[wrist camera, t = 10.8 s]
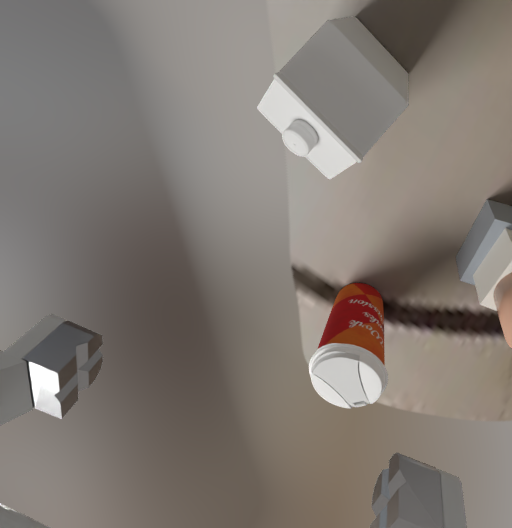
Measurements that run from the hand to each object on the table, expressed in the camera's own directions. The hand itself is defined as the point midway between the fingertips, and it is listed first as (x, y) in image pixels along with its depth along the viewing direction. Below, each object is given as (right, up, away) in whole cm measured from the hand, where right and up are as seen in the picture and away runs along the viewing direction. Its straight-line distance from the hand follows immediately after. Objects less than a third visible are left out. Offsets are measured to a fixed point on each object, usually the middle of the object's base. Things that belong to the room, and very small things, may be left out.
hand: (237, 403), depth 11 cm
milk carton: (+10, +21, +29) cm, 37 cm away
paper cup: (+13, -1, +41) cm, 43 cm away
